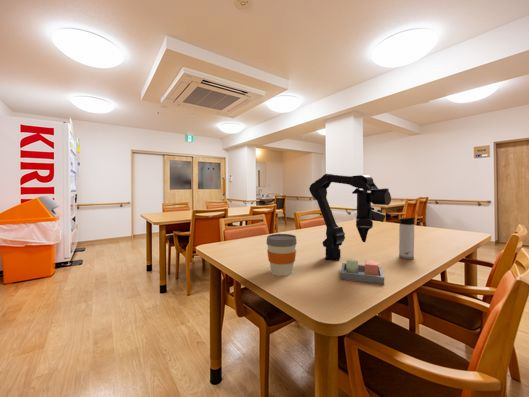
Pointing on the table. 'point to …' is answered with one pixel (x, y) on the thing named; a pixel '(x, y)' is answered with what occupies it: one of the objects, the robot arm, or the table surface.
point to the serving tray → (362, 275)
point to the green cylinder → (352, 266)
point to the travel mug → (406, 238)
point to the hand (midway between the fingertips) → (363, 239)
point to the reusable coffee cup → (281, 253)
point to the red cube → (371, 268)
